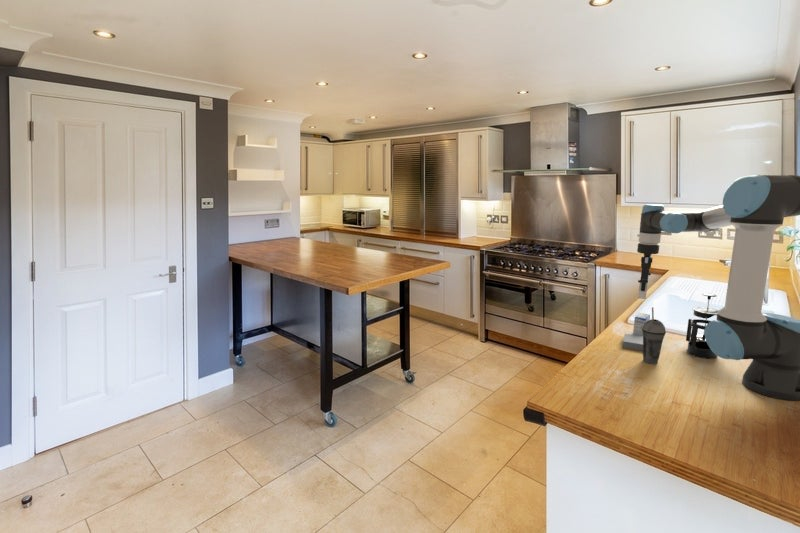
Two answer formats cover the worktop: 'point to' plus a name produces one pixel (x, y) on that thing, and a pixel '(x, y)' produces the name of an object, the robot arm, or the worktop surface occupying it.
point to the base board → (633, 342)
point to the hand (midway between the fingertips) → (642, 294)
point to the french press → (698, 342)
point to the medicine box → (640, 323)
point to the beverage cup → (652, 339)
